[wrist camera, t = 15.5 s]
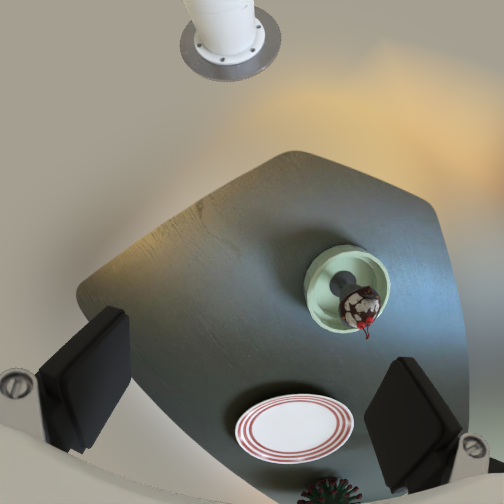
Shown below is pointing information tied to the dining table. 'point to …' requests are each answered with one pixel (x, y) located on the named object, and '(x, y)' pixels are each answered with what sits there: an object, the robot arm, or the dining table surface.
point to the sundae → (355, 301)
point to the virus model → (330, 493)
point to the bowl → (331, 263)
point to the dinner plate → (294, 428)
